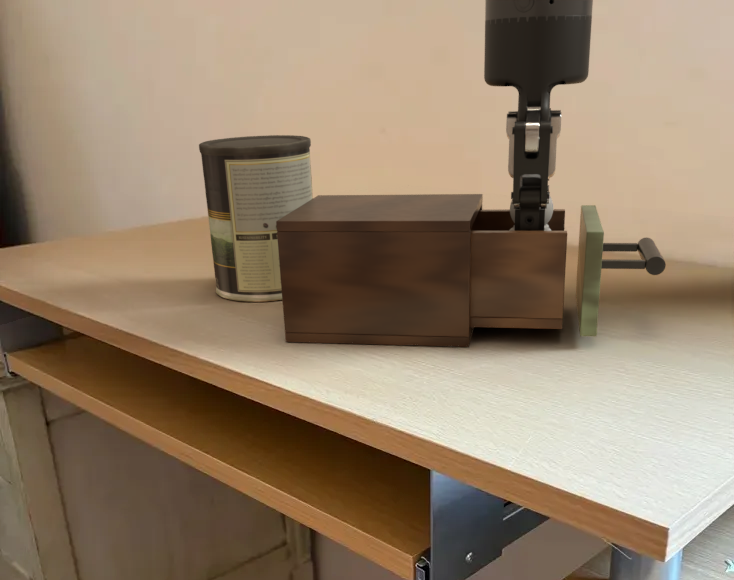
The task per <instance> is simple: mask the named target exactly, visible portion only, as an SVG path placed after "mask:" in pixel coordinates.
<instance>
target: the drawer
mask: <svg viewBox="0 0 734 580" xmlns="http://www.w3.org/2000/svg"><path fill="white" fill-rule="evenodd" d="M579 214H580V215H579V216H580V217H579V232H578V233H579V234H578V250H577V264H576V265H577V266H576V279H575V281H576V283H575V304H576V313H577V321H578V329H579V336H580V337H597V335H598V323H599V306H600V305H599V304H600V295H601V293H600V292H601V280H602V269H603V270H646V272H647V273H648V274H649V275H652V276H659V275H661V274H662V273H664V271H665V269H666V265H667V264H666V261H665V259H664V257H663V255H662V254H661V252H660V250H659V248H658V246H657V244H656V243H655V241H654V240H653V239H652V238H651V237H642V238H640V239H639V240H638V242H604V239H605V232H604V228H603V224H602V222H601V218H600V216H599V212H598V209H597V206H596V205H595V204H592V205H591V204H589V205H588V204H587V205H585V204H582V205H581V206H580V213H579ZM565 220H566V209H565V208H553V214H552V217H551V219H550V221H549V222H548V223H547V224H548V225H549V228H550V229H551V231H509V230H510V229H511V228H513V226H514V225H515V223H514V222H513V220H512V218H511V215H510V208H509V209H505V208H504V209H482V210H479V212H478V214H477V216H476V219H475V221H474V223H473V225H472V228H471V260H470V327H474V328H495V329H496V328H498V329H499V328H500V329H543V330H544V329H545V330H562V329H563V323H564V322H563V321H564V320H563V318H564V302H565V285H566V284H565V283H566V266H567V249H568V230H565ZM603 252H621V253H622V252H625V253H627V252H629V253H630V252H635V253H636V252H638V255H639V257H640V259H619V258H618V259H613V258H612V259H608V258H607V259H606V258H605V259H604V258H603Z"/></svg>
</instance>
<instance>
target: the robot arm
mask: <svg viewBox="0 0 734 580" xmlns="http://www.w3.org/2000/svg"><path fill="white" fill-rule="evenodd" d="M484 2H485V5H484V6H485V7H484V9H485V10H484V11H485V12H484V13H485V14H484V15H485V16H484V63H483V64H484V68H483V79H484V82H485V83H486V84H487V85H488V86H491V87H512V88H514V89H516V91H517V92H518V100H517V101H518V102H517V110H509V111H508V112H507V113H506V123H505V126H506V127H505V129H506V130H505V133H506V138H507V139H508V159H507V161H508V164H507V171H508V175H509V177H510V178H512V180H513V181H512V182H513V183H512V191H511V192H510V199H511V201H512V204H514V209H515V229H514V231H544V223H545V209H547V204H549V195H551V194H550V193H551V192H550V185H549V181H550V178H552V177H553V176H554V175H555V174H556V165H557V142H558V138H559V137H560V136H561V130H562V128H561V127H562V110H561V109H552V108H551V93H552V90H553V89H554V88H555V87H557V86H559V85H562V86H565V85H576V84H582V83H583V82H585V81H586V80H587V79H588V77H589V70H590V69H589V67H590V54H591V53H590V52H591V39H592V23H593V5H594V0H485V1H484Z"/></svg>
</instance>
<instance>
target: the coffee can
mask: <svg viewBox="0 0 734 580" xmlns="http://www.w3.org/2000/svg"><path fill="white" fill-rule="evenodd" d="M311 143H312V141H311V138H310V137H308V136H304V135H291V134H290V135H288V134H287V135H285V134H282V135H280V134H279V135H278V134H276V135H275V134H273V135H272V134H270V135H252V136H250V135H249V136H235V137H226V138H217V139H210V140H206V141H202V142H201V143H199V144H198V150H199V152H200V156H201V165H202V173H203V174H202V175H203V182H204V190H205V191H204V192H205V200H206V207H207V216H208V217H207V218H208V226H209V234H210V243H211V253H212V263H213V269H214V278H215V293H216V295H217V296H219V297H220V298H222V299H226V300H230V301H233V302H246V303H263V302H276V301H282V289H281V277H280V264H279V251H278V239H277V227H276V221H277V220H279V219H281V218H282V217H284V216H285V215H287V214H289V213H290V212H292V211H294V210H295V209H297V208H298V207H300V206H302V205H303V204H305V203H307V202H308V201H310V200H311V199H313V198H314V196H313V181H312V179H313V178H312V166H311V149H310V148H311V147H312V144H311Z"/></svg>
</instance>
